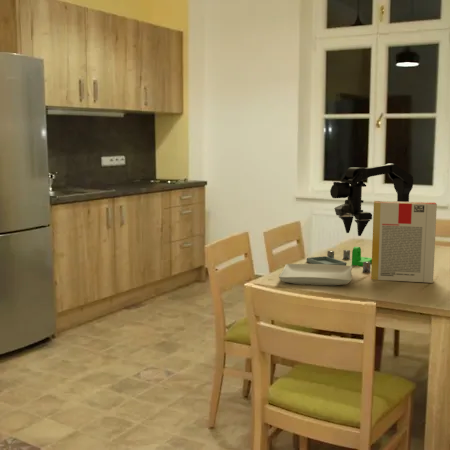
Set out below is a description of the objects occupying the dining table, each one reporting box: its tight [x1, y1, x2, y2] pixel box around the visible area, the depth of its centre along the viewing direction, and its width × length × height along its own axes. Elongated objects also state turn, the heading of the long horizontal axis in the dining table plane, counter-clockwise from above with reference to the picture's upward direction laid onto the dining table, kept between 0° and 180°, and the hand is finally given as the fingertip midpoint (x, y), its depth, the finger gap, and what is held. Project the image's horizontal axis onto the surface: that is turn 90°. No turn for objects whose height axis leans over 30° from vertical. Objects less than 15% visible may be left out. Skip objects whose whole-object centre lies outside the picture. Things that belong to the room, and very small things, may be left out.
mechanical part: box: [351, 246, 372, 267], centre depth 269 cm, size 12×6×8 cm, turn 147°
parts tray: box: [306, 255, 347, 266], centre depth 266 cm, size 10×16×2 cm, turn 24°
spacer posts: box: [326, 249, 372, 273], centre depth 267 cm, size 19×31×4 cm, turn 24°
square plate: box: [278, 263, 353, 286], centre depth 238 cm, size 27×27×4 cm
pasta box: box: [370, 200, 438, 284], centre depth 236 cm, size 23×8×30 cm, turn 75°
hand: (353, 234), depth 257 cm, fingers open, 9 cm apart
